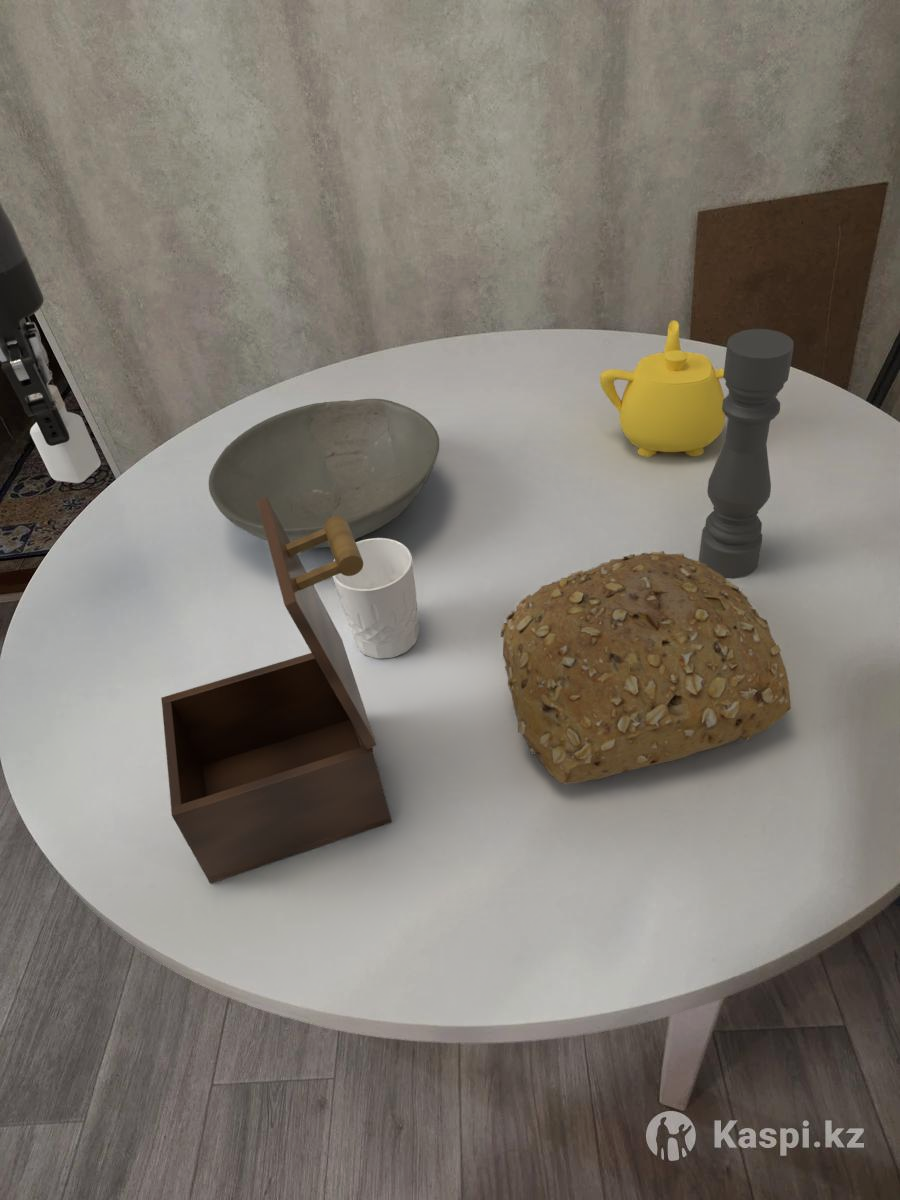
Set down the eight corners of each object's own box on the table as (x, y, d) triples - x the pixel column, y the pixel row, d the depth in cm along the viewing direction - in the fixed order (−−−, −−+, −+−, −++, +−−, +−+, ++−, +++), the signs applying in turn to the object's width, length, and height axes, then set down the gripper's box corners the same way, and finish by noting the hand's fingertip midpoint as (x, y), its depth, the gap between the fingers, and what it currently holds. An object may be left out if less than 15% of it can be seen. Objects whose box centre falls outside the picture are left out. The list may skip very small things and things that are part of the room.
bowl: (484, 469, 111) (479, 413, 105) (373, 609, 93) (360, 550, 88) (310, 435, 122) (297, 382, 116) (181, 554, 104) (158, 499, 99)
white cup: (437, 619, 91) (425, 546, 84) (403, 671, 86) (388, 598, 79) (372, 603, 94) (356, 531, 87) (336, 653, 89) (315, 580, 82)
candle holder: (722, 534, 97) (752, 321, 80) (770, 558, 93) (812, 340, 76) (686, 560, 94) (709, 345, 77) (734, 586, 90) (768, 367, 73)
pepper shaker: (74, 461, 93) (37, 381, 87) (104, 464, 92) (69, 383, 86) (50, 482, 90) (11, 400, 84) (82, 486, 89) (44, 403, 83)
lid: (284, 605, 55) (365, 571, 55) (256, 500, 64) (326, 471, 65) (367, 749, 66) (434, 720, 67) (333, 642, 76) (392, 617, 76)
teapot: (751, 434, 111) (764, 348, 103) (675, 481, 105) (683, 394, 97) (667, 397, 119) (673, 315, 111) (593, 439, 113) (594, 356, 105)
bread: (696, 587, 91) (707, 493, 83) (810, 739, 75) (838, 642, 67) (474, 646, 88) (463, 555, 80) (545, 818, 72) (541, 726, 64)
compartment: (209, 883, 71) (171, 815, 64) (195, 767, 80) (161, 697, 73) (392, 822, 73) (373, 751, 67) (358, 716, 82) (338, 644, 76)
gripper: (-62, 247, 80) (17, 409, 92) (-68, 299, 70) (22, 474, 82) (21, 229, 82) (88, 390, 93) (27, 277, 72) (102, 451, 83)
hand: (57, 428), depth 87 cm, fingers closed on pepper shaker, 5 cm apart
